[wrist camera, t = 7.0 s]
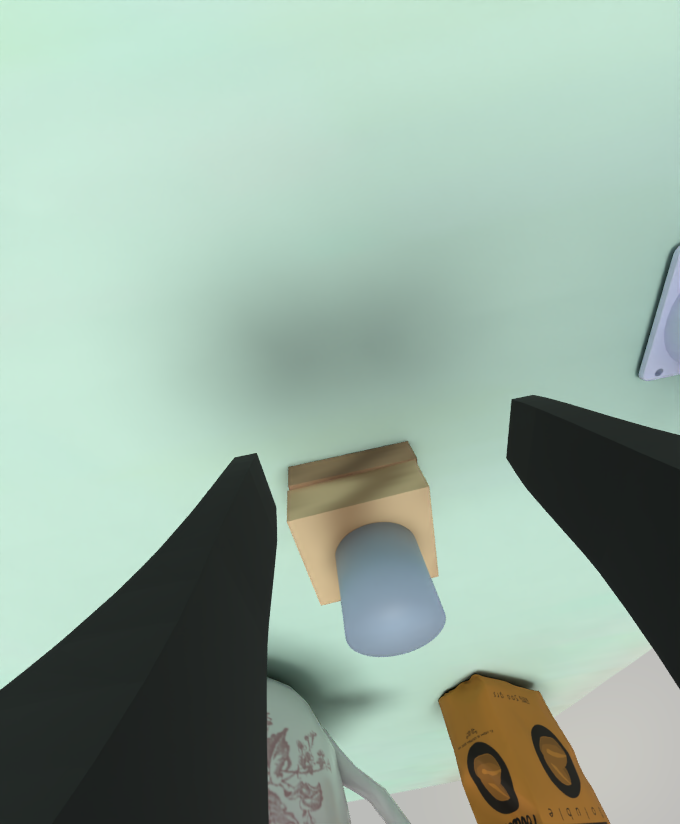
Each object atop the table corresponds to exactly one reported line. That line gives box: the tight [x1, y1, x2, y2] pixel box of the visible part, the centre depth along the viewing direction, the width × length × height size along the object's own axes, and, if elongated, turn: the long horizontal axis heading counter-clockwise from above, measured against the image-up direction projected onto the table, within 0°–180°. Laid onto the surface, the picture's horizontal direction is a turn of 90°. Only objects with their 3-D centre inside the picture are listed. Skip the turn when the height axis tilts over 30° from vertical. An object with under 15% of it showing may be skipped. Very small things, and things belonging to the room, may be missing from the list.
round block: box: [335, 522, 446, 657], centre depth 18 cm, size 5×5×4 cm
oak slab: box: [287, 459, 438, 606], centre depth 21 cm, size 8×8×2 cm
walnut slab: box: [288, 441, 417, 490], centre depth 24 cm, size 8×8×2 cm
